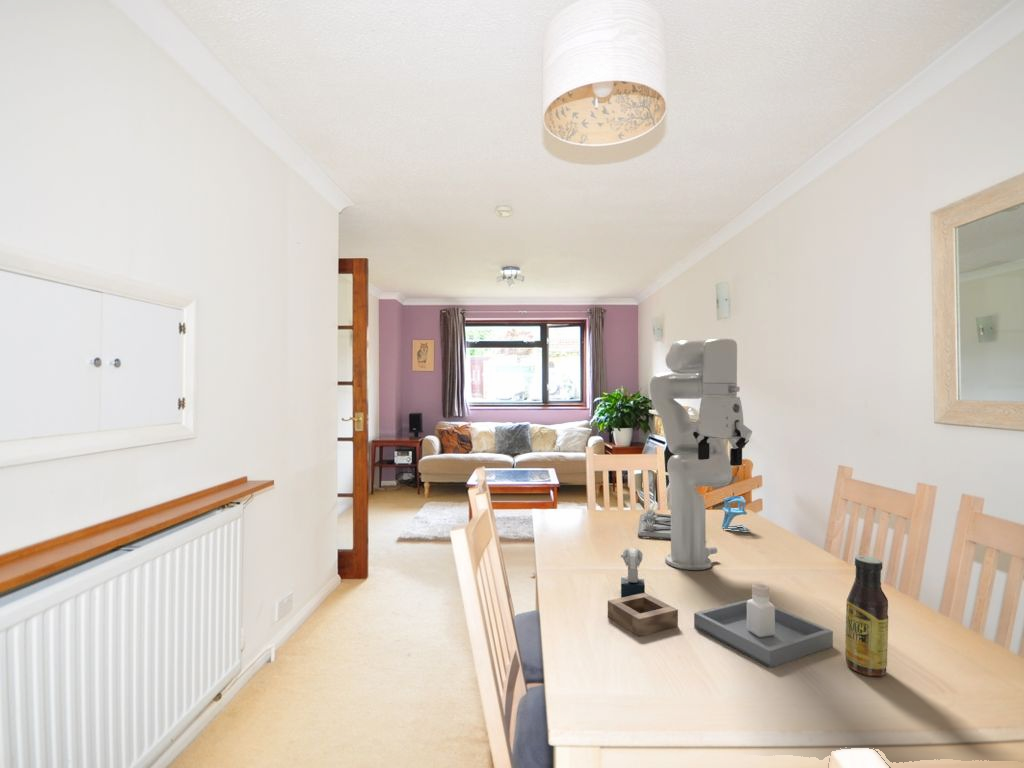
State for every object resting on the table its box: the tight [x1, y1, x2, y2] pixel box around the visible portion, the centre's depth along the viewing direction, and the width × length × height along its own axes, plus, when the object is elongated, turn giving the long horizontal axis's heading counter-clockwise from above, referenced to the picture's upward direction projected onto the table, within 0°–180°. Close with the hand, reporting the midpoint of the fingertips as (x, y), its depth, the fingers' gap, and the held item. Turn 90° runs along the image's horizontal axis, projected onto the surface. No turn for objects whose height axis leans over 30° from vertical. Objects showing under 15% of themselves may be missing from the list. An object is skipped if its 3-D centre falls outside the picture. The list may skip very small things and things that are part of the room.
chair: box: [721, 495, 751, 532], centre depth 188 cm, size 8×8×12 cm
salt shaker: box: [747, 582, 776, 637], centre depth 107 cm, size 4×4×10 cm
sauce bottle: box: [844, 555, 889, 677], centre depth 94 cm, size 7×6×20 cm
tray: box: [693, 598, 834, 669], centre depth 106 cm, size 18×18×3 cm
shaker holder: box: [607, 592, 679, 637], centre depth 113 cm, size 10×10×4 cm
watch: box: [620, 547, 646, 598], centre depth 128 cm, size 6×8×11 cm
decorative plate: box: [637, 507, 671, 540], centre depth 189 cm, size 30×22×7 cm
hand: (719, 462), depth 126 cm, fingers open, 9 cm apart
